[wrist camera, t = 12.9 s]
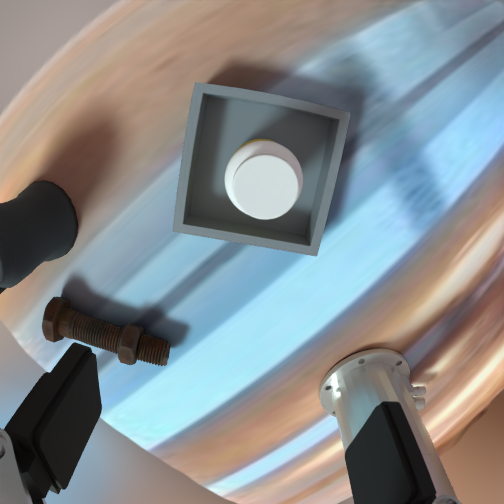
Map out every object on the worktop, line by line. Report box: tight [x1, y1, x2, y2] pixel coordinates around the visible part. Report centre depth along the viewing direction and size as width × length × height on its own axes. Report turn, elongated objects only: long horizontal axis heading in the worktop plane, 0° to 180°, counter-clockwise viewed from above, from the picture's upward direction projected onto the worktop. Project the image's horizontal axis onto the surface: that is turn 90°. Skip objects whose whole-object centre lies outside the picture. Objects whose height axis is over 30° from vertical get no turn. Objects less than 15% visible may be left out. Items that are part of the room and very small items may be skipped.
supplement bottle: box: [225, 139, 303, 219], centre depth 23 cm, size 5×5×10 cm
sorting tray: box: [173, 82, 351, 256], centre depth 27 cm, size 13×13×4 cm
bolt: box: [42, 297, 171, 366], centre depth 33 cm, size 6×5×15 cm
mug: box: [0, 180, 78, 294], centre depth 25 cm, size 12×9×11 cm
